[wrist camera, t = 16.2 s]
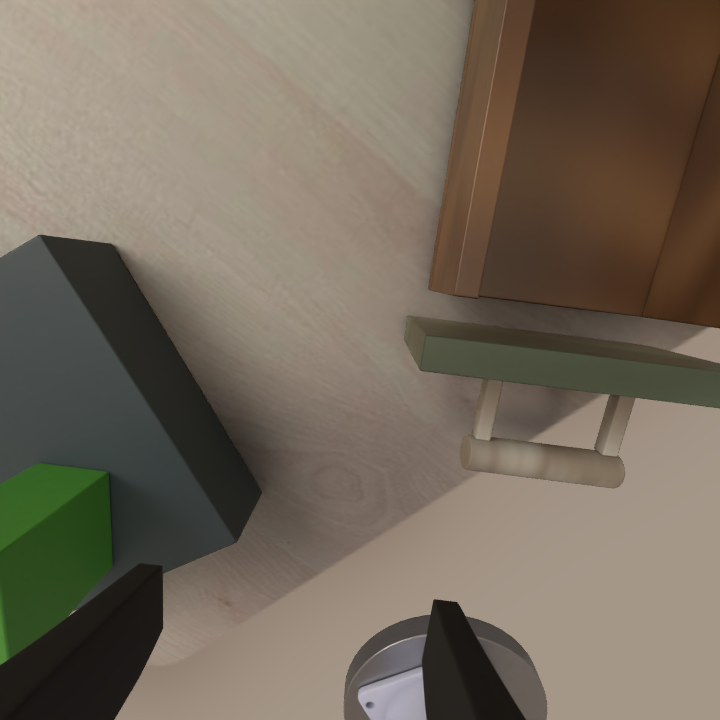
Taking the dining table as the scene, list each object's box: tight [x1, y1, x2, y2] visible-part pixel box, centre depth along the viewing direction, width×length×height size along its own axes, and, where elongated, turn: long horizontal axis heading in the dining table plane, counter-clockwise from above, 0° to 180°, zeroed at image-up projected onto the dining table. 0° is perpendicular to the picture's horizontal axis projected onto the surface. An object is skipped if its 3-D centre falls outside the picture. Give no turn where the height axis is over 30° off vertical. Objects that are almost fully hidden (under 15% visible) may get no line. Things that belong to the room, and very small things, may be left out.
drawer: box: [404, 0, 720, 488], centre depth 13 cm, size 23×11×6 cm, turn 173°
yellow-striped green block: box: [0, 463, 113, 665], centre depth 14 cm, size 5×3×6 cm, turn 173°
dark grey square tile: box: [0, 235, 262, 611], centre depth 18 cm, size 15×13×4 cm
